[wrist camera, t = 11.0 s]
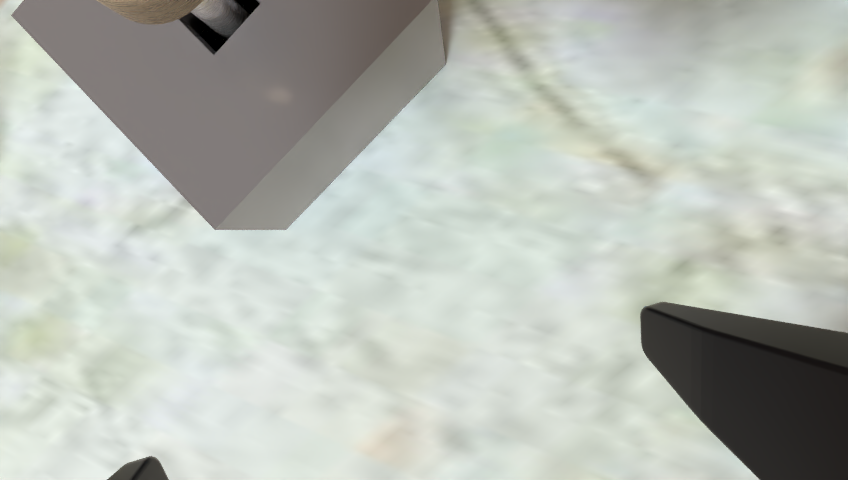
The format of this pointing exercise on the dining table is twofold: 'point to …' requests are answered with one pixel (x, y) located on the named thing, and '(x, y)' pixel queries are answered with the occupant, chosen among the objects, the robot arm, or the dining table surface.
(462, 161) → the dining table surface
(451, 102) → the dining table surface
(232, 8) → the plunger
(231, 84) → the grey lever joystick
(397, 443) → the dining table surface
